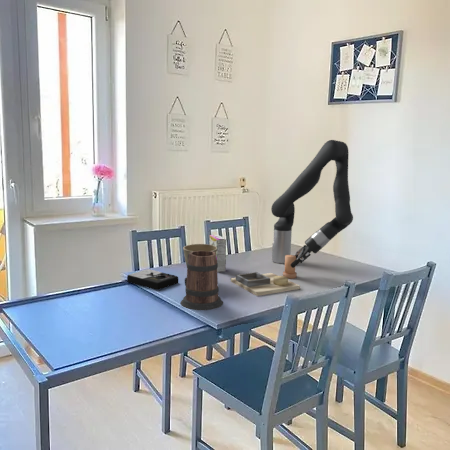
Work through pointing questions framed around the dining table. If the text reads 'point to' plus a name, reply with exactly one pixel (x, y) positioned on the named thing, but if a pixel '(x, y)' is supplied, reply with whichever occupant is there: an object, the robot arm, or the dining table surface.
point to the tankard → (202, 282)
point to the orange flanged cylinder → (289, 267)
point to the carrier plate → (264, 283)
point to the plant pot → (197, 249)
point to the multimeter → (152, 279)
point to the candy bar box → (219, 251)
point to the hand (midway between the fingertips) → (291, 264)
